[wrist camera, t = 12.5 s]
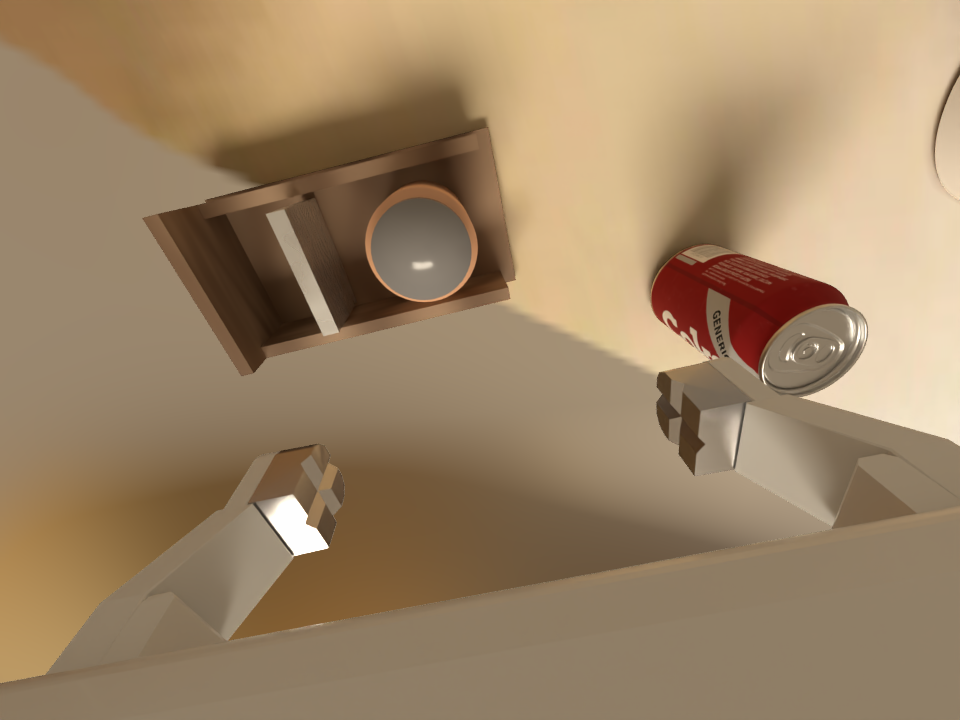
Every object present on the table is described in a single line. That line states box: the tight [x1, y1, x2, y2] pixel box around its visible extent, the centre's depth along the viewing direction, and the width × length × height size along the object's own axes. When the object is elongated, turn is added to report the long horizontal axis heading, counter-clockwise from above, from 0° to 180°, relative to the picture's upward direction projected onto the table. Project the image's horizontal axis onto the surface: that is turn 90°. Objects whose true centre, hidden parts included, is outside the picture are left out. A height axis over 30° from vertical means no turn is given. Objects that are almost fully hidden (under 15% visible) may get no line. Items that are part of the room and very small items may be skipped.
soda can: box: [650, 244, 868, 397], centre depth 25 cm, size 7×7×12 cm
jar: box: [365, 180, 478, 302], centre depth 23 cm, size 6×6×7 cm
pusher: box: [266, 198, 357, 336], centre depth 24 cm, size 3×7×6 cm, turn 13°
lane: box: [143, 127, 516, 376], centre depth 24 cm, size 18×10×7 cm, turn 103°
